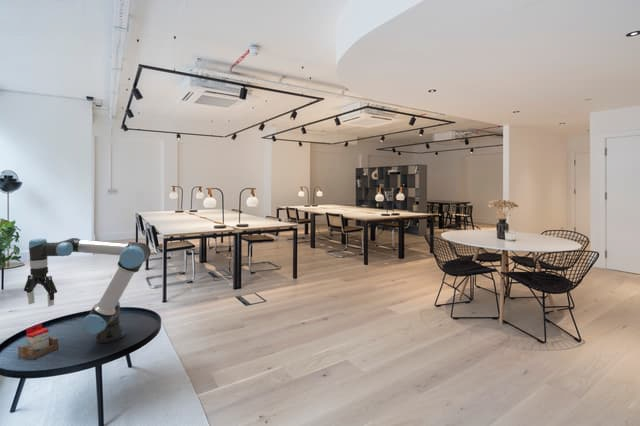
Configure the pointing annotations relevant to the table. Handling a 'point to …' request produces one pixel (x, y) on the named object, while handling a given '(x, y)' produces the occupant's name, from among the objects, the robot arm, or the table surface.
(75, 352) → the table surface
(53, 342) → the wooden crate
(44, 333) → the red white carton
